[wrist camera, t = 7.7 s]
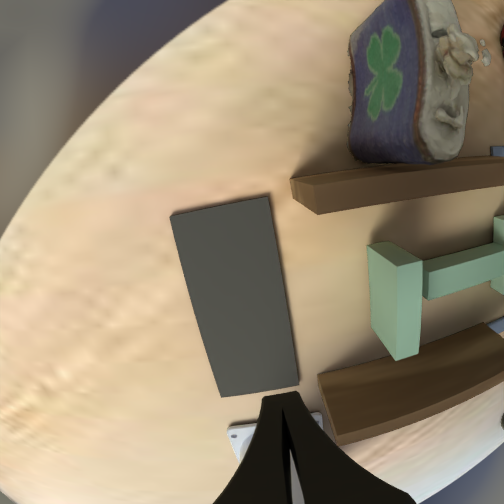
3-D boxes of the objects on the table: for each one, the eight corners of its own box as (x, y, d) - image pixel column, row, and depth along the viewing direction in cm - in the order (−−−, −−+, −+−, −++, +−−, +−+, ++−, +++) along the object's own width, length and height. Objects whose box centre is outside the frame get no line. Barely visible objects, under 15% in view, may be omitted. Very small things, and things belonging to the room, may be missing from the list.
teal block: (539, 266, 20) (571, 282, 16) (369, 324, 21) (395, 361, 16) (543, 206, 19) (578, 215, 14) (364, 244, 19) (396, 266, 15)
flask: (346, 28, 16) (422, -57, 6) (386, 38, 16) (480, -29, 6) (343, 161, 18) (445, 163, 8) (385, 166, 18) (503, 179, 8)
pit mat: (298, 382, 22) (299, 384, 22) (221, 395, 23) (221, 397, 22) (267, 196, 19) (267, 196, 18) (170, 215, 19) (169, 216, 19)
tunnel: (481, 333, 22) (528, 374, 15) (318, 386, 23) (340, 455, 16) (487, 155, 18) (556, 161, 11) (289, 178, 19) (317, 187, 11)
